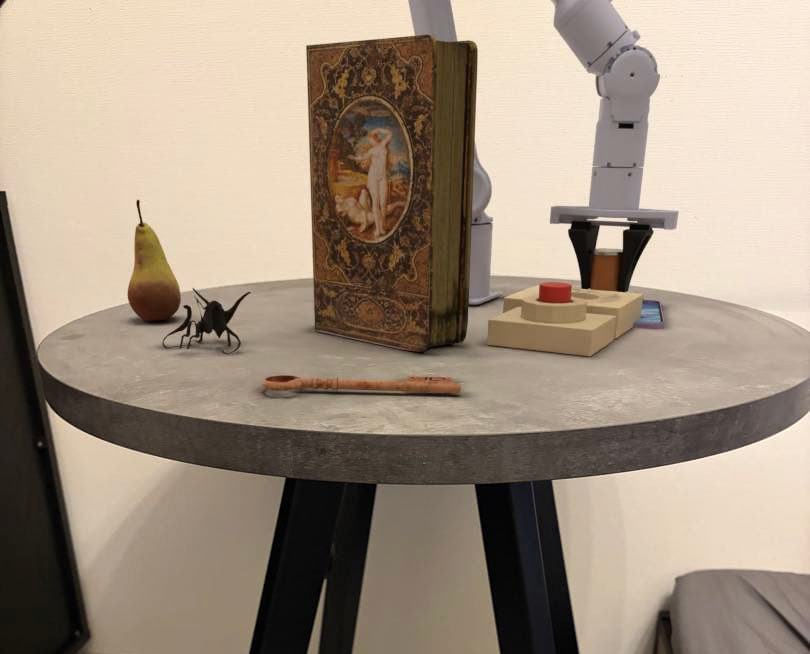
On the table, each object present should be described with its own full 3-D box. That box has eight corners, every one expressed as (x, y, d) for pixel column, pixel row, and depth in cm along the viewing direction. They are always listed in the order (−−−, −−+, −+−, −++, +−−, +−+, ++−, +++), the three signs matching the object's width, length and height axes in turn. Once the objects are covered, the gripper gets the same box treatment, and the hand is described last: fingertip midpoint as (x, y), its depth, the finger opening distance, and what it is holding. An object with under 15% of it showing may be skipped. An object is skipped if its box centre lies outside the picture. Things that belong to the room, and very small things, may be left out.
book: (306, 329, 88) (297, 46, 77) (346, 322, 91) (341, 51, 81) (428, 355, 78) (435, 33, 67) (466, 346, 81) (479, 39, 71)
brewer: (501, 327, 90) (503, 297, 89) (534, 312, 98) (536, 284, 97) (616, 339, 85) (619, 307, 84) (640, 322, 93) (643, 293, 92)
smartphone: (592, 321, 91) (597, 299, 105) (591, 330, 92) (596, 307, 105) (665, 323, 90) (660, 300, 103) (664, 332, 90) (659, 308, 103)
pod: (583, 303, 104) (588, 251, 101) (588, 298, 107) (593, 247, 105) (619, 305, 103) (624, 252, 100) (623, 300, 106) (628, 249, 104)
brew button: (533, 304, 81) (535, 285, 80) (544, 300, 83) (545, 281, 83) (564, 307, 80) (566, 287, 79) (574, 302, 82) (576, 283, 81)
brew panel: (486, 344, 82) (489, 301, 80) (516, 330, 88) (519, 290, 87) (590, 356, 78) (594, 311, 76) (613, 340, 84) (618, 298, 83)
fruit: (196, 319, 92) (185, 197, 87) (152, 327, 88) (138, 200, 83) (161, 313, 95) (149, 195, 90) (117, 320, 91) (102, 197, 86)
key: (459, 385, 69) (272, 379, 70) (460, 374, 69) (272, 368, 69) (460, 399, 64) (257, 392, 64) (461, 386, 63) (257, 380, 64)
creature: (227, 371, 76) (266, 334, 82) (215, 312, 73) (257, 278, 79) (150, 363, 78) (194, 328, 84) (135, 306, 75) (182, 273, 81)
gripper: (689, 168, 99) (672, 290, 105) (566, 165, 105) (557, 281, 111) (677, 169, 93) (660, 298, 99) (548, 166, 99) (539, 288, 105)
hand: (604, 290), depth 104 cm, fingers closed on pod, 4 cm apart
